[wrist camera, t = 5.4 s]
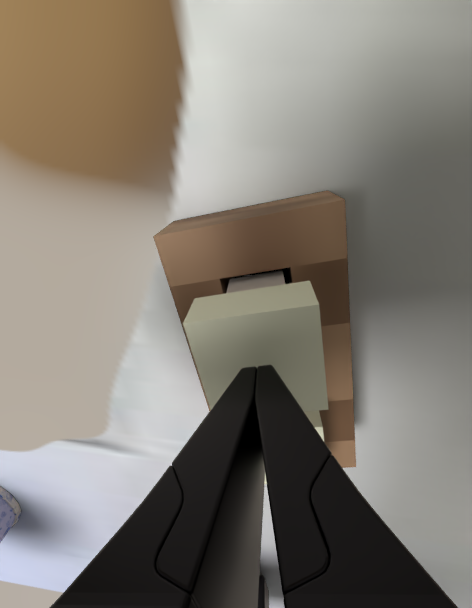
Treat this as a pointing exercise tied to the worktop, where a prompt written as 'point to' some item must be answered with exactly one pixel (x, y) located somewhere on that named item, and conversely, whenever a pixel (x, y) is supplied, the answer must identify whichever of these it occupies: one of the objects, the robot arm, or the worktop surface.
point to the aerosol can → (7, 512)
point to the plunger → (260, 336)
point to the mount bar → (271, 256)
